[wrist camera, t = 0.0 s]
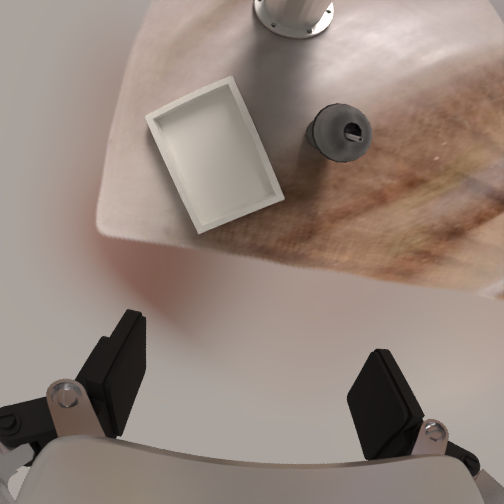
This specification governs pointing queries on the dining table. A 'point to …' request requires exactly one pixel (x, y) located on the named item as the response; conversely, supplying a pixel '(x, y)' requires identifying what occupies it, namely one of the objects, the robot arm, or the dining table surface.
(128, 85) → the dining table surface
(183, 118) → the tray
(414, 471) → the robot arm
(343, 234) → the dining table surface
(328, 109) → the beverage cup
